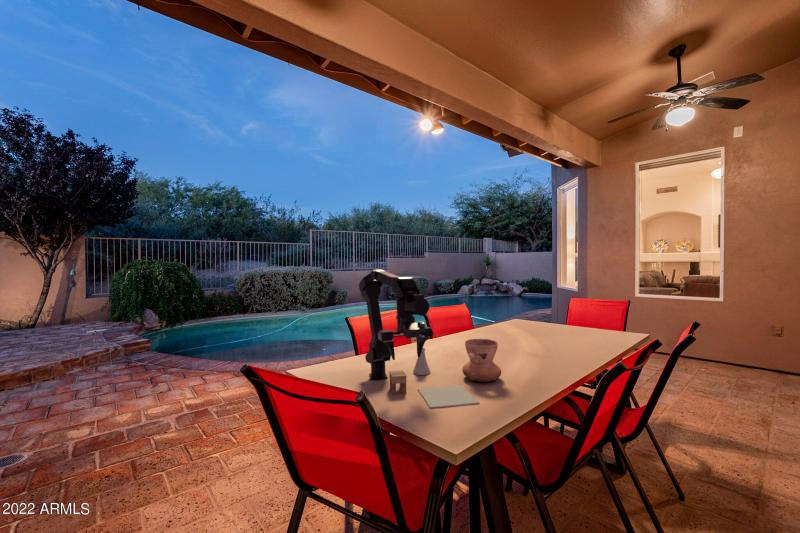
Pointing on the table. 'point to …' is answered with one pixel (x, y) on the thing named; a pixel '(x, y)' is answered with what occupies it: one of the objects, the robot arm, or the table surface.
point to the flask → (421, 365)
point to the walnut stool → (397, 380)
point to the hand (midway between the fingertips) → (406, 358)
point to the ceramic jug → (481, 360)
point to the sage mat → (447, 396)
